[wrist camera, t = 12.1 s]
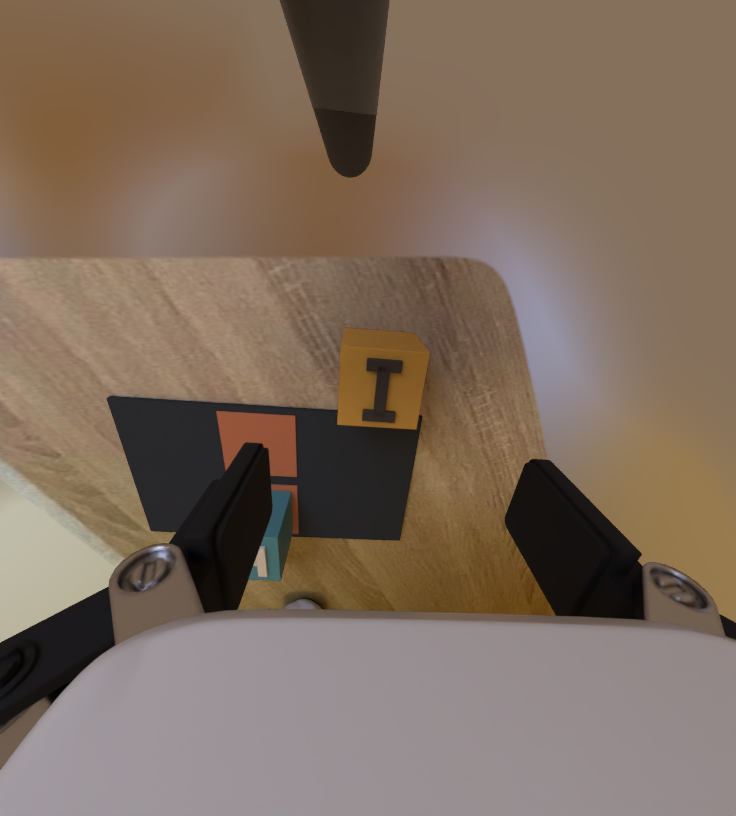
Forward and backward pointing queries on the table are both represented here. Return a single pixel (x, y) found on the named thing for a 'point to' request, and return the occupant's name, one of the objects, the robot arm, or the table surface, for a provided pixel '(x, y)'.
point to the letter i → (381, 378)
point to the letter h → (275, 540)
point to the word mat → (289, 462)
